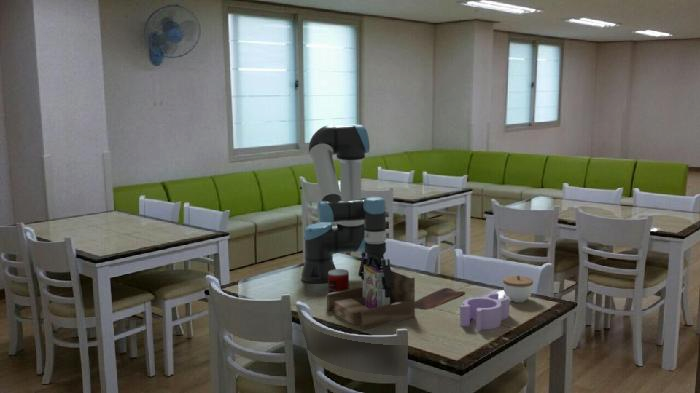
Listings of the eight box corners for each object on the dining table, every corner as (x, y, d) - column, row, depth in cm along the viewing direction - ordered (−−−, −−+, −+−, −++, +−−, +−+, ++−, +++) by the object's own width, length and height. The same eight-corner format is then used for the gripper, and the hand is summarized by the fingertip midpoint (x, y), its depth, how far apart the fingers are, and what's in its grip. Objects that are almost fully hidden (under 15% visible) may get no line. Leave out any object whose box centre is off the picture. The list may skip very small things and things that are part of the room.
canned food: (351, 297, 244) (350, 269, 242) (345, 304, 237) (345, 275, 235) (332, 296, 246) (331, 268, 244) (326, 302, 239) (325, 274, 237)
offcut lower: (334, 315, 227) (334, 308, 227) (351, 311, 230) (351, 304, 230) (354, 327, 215) (354, 320, 215) (371, 323, 218) (371, 316, 218)
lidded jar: (499, 302, 235) (500, 277, 233) (506, 293, 244) (506, 270, 243) (529, 306, 230) (530, 281, 229) (535, 297, 240) (535, 273, 238)
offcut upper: (334, 308, 227) (334, 301, 226) (351, 305, 230) (351, 298, 229) (353, 320, 214) (353, 313, 214) (371, 316, 218) (371, 309, 217)
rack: (327, 309, 231) (326, 272, 228) (375, 298, 242) (375, 262, 240) (363, 329, 211) (363, 288, 208) (414, 316, 222) (414, 277, 220)
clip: (486, 309, 228) (487, 290, 227) (517, 317, 219) (518, 298, 218) (453, 324, 214) (453, 304, 213) (485, 333, 205) (485, 313, 204)
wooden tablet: (426, 308, 227) (404, 299, 233) (425, 314, 227) (403, 305, 234) (467, 291, 246) (445, 283, 252) (466, 297, 246) (445, 289, 253)
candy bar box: (363, 307, 232) (362, 264, 229) (376, 305, 234) (375, 262, 231) (376, 317, 222) (375, 271, 219) (389, 315, 223) (388, 270, 221)
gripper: (347, 237, 232) (349, 294, 235) (386, 249, 212) (387, 312, 215) (365, 234, 236) (366, 291, 239) (404, 246, 216) (404, 308, 219)
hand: (376, 301), depth 227 cm, fingers closed on candy bar box, 12 cm apart
